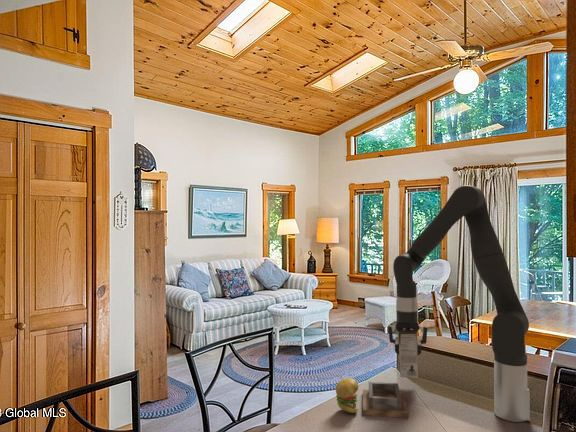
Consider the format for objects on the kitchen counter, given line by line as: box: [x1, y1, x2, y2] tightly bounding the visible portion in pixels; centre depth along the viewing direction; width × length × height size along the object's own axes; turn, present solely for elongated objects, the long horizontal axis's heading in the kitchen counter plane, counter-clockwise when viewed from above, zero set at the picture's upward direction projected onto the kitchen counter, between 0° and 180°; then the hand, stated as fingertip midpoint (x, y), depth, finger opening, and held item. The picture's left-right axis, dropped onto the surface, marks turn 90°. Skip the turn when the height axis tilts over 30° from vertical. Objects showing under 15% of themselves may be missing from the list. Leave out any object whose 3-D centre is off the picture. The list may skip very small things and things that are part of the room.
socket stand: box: [362, 381, 409, 419], centre depth 143 cm, size 14×16×5 cm
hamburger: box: [335, 375, 359, 414], centre depth 138 cm, size 8×7×12 cm
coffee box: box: [397, 330, 419, 379], centre depth 156 cm, size 9×6×16 cm
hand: (407, 354), depth 156 cm, fingers closed on coffee box, 6 cm apart
